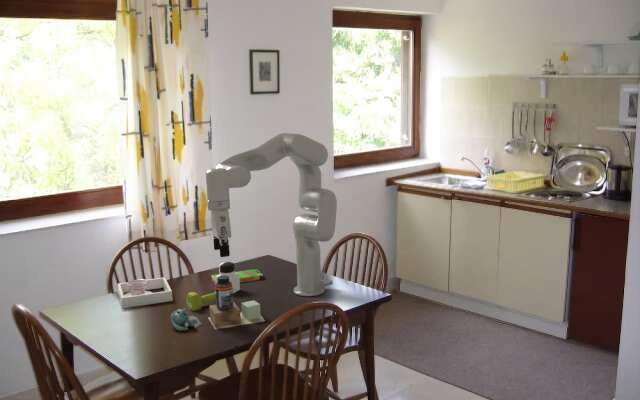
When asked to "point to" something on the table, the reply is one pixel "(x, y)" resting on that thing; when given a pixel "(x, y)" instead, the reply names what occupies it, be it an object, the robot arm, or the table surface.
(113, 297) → the table surface
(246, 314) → the block
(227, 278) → the supplement bottle
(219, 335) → the table surface
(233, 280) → the medicine bottle
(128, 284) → the teacup
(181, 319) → the stuffed animal
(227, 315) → the plinth
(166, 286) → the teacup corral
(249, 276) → the game box
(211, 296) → the dumbbell
